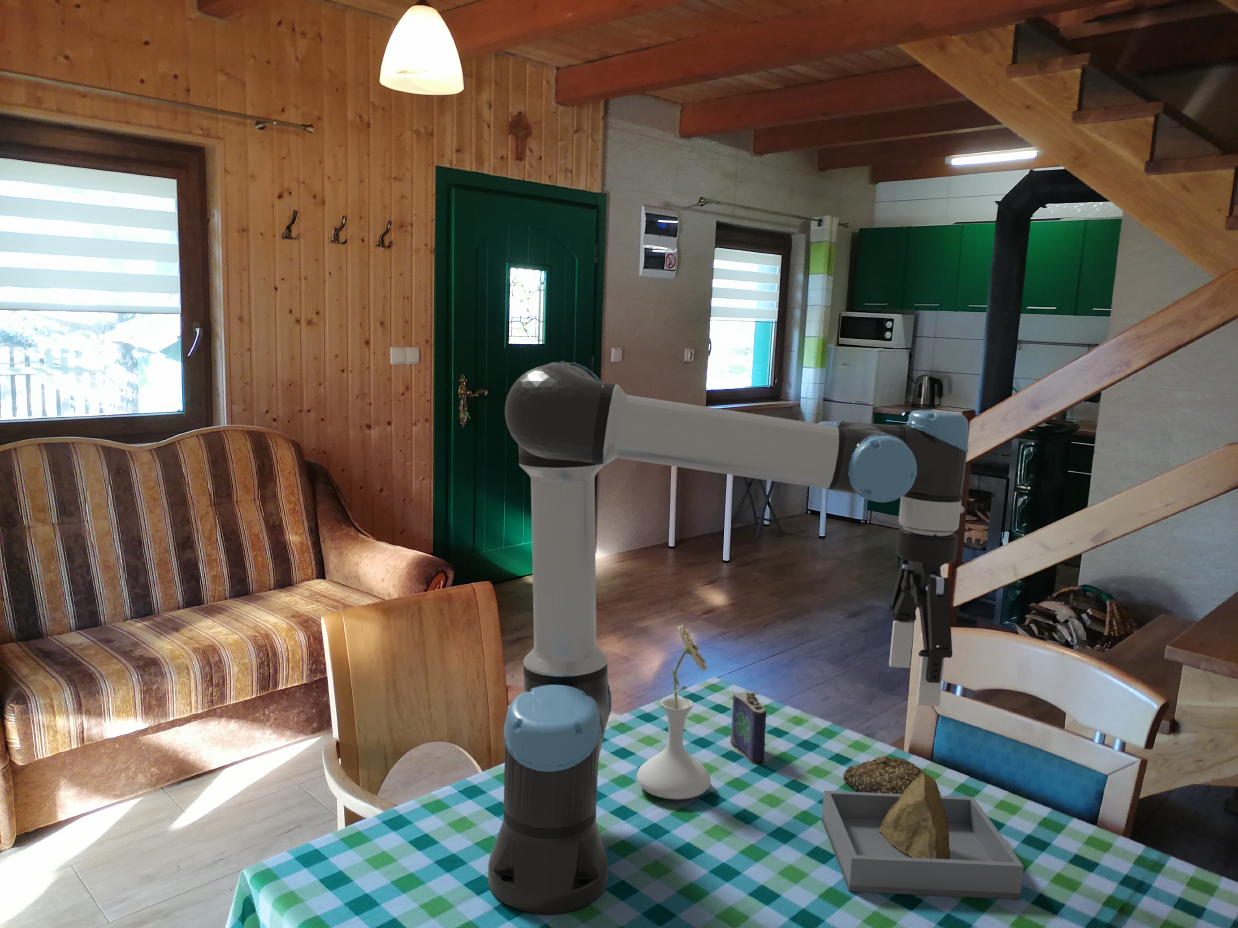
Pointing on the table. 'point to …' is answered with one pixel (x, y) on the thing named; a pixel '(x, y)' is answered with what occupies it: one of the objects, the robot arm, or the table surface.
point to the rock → (918, 821)
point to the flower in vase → (676, 746)
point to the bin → (882, 868)
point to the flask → (748, 726)
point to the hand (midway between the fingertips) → (912, 684)
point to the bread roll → (882, 775)
